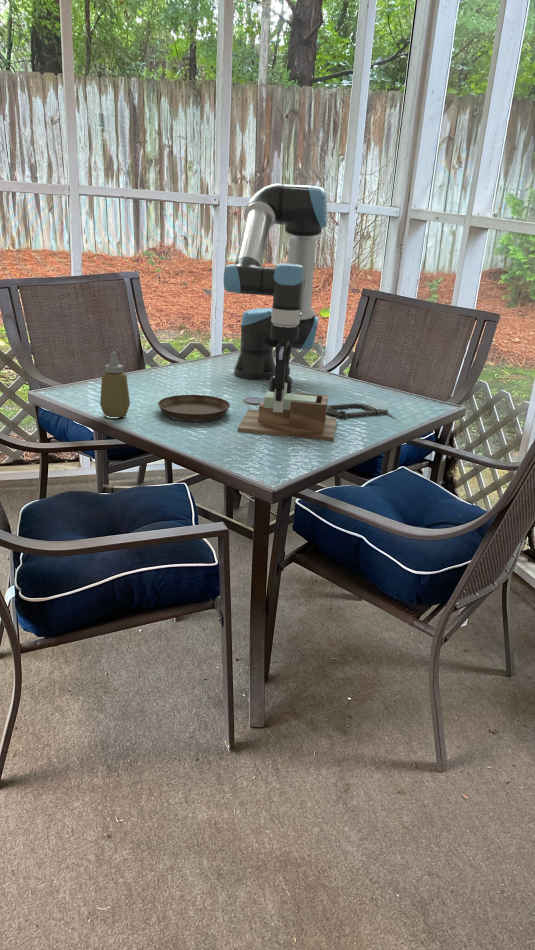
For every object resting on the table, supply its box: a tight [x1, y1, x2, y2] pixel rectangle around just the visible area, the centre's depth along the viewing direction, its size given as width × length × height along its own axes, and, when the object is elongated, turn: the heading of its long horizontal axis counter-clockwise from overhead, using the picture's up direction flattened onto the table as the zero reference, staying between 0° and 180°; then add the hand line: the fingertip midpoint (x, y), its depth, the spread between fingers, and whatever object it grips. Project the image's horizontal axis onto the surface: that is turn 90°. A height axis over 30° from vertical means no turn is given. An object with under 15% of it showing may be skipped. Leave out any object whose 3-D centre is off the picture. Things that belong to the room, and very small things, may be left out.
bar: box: [263, 391, 317, 410], centre depth 184 cm, size 6×14×3 cm, turn 82°
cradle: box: [237, 391, 337, 442], centre depth 185 cm, size 18×26×8 cm
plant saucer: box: [157, 394, 231, 423], centre depth 192 cm, size 21×21×3 cm
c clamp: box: [326, 403, 396, 420], centre depth 202 cm, size 20×17×3 cm
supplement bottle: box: [268, 365, 293, 394], centre depth 203 cm, size 7×7×12 cm
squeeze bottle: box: [99, 351, 131, 418], centre depth 182 cm, size 8×8×18 cm
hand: (279, 408), depth 185 cm, fingers closed on bar, 6 cm apart
